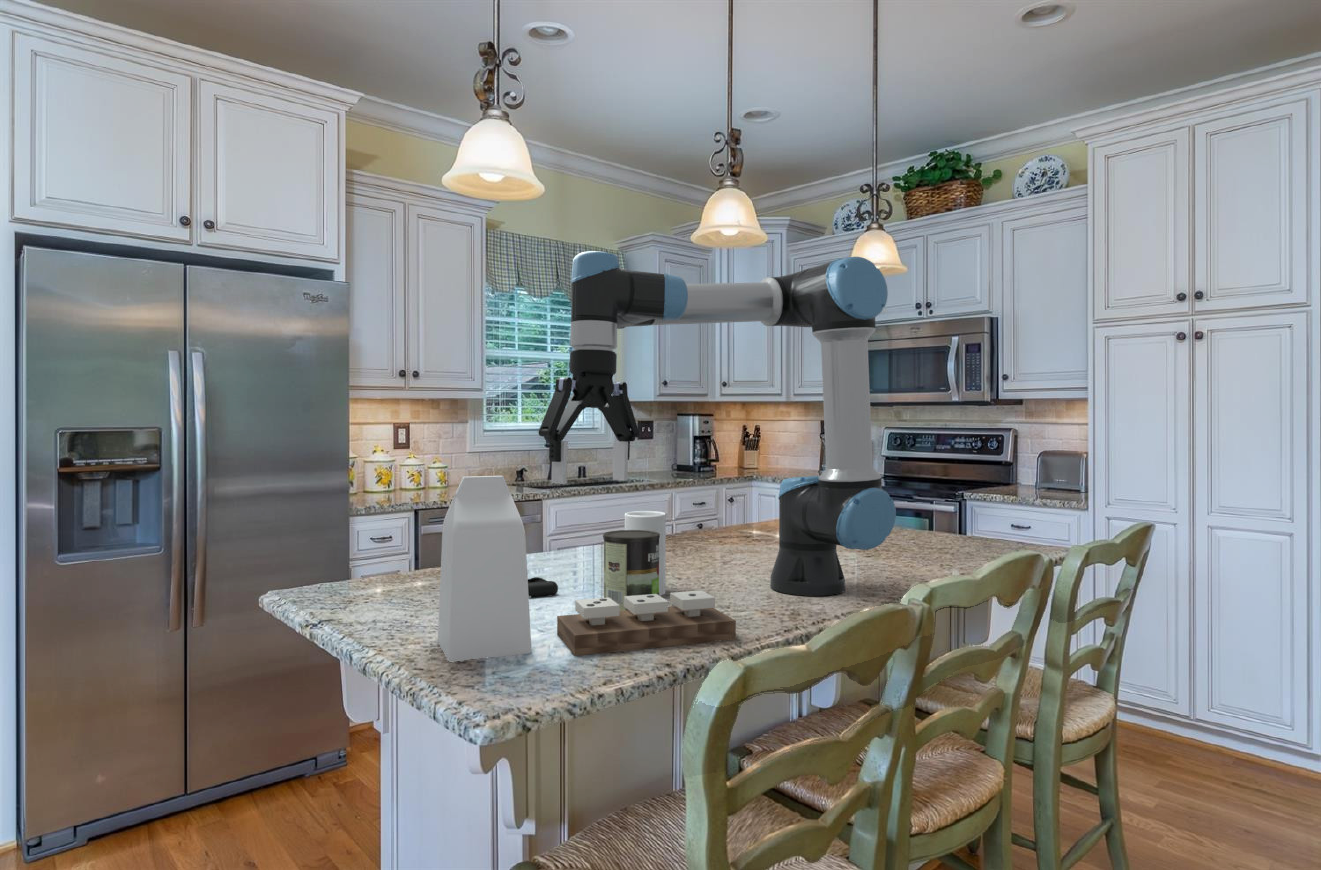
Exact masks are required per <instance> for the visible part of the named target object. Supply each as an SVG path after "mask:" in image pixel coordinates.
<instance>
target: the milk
mask: <svg viewBox="0 0 1321 870" xmlns="http://www.w3.org/2000/svg"><path fill="white" fill-rule="evenodd" d="M441 533H442V534H441V553H440V554H441V557H440V582H439V583H440V584H439V604H438V605H439V606H438V629H437V643H438V645H439V646H440V648H441V651H442V650H443V651H442V652H444V653H443V654H445V655H444V656H446V657H447V659H448V660H447V659H446V660H447V662H448V661H449V662H452V661H460V662H463V661H462V660H469V659H477V660H479V659H478V658H485V659H490V658H489V657H494V658H501V657H509V656H510V657H511V656H519V655H527V654H532V652H533V651H532V649H533V648H532V634H531V633H532V632H531V617H530V615H531V614H530V600H529V594H528V579H529V578H528V576H529V575H528V559H527V544H526V543H527V542H526V532H525V526H524V523H523V520H522V517H521V514H520V513H519V510H518V508H517V505H516V503H515V501H514V499H513V496H512V494H511V491H510V488H509V487H508V483H507V481H506V480H505V476H504V475H482V476H480V475H478V476H462V478H461V480H460V482H459V484H458V487H457V488H456V491H455V493H454V495H453V498H452V500H451V502H450V504H449V506H448V510H447V511H446V513H445V517H444V519H443V522H442V532H441ZM446 657H445V658H446ZM487 657H488V658H487ZM469 661H470V660H469ZM449 662H448V663H449ZM452 663H453V662H452Z"/></svg>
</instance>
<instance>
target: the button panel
mask: <svg viewBox="0 0 1321 870" xmlns="http://www.w3.org/2000/svg"><path fill="white" fill-rule="evenodd" d="M556 617H557V618H556V632H557V633H556V635H557V637H558V638H559V639H560V640H561V641H562V642H563V643H564V645H565V647H567V649H568V650H569V651H570V652H571V654H572V655H573V656H574V657H577V656H587V655H595V654H596V655H597V654H606V653H607V654H608V653H614V652H625V651H626V652H628V651H636V650H645V649H657V648H665V647H666V648H667V647H675V646H685V645H695V644H705V643H714V642H715V643H716V642H724V641H732V640H733V641H734V640H736V639H737V637H736V636H737V620H736V619H734V618H732V617H730V616H729V615H728V614H725V613H724V612H722V611H719V610H718V609H716V608H704V609H700V616H694V617H686V616H685V615H684V610H681V609H680V608H678V607H676V606H675V605H673V606H668V612H657V613H654V620H649V621H639V620H638V614H633V613H632V612H630V611H629V610H623V611H619V616H611V617H605V624H604V625H593V626H590V625H589V618H587V619H584V618H583V617H582V616H581V615H580V614H579V613H577V614H566V615H565V614H564V615H556Z"/></svg>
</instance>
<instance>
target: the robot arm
mask: <svg viewBox="0 0 1321 870" xmlns="http://www.w3.org/2000/svg"><path fill="white" fill-rule="evenodd" d="M619 260H620V259H619V258H618V256H617V255H616V254H614V253H609V252H606V251H600V250H599V251H597V250H594V251H593V250H590V251H583V252H580V253H578V254H576V255H575V256H574V257H573V260H572V268H571V279H570V290H571V291H570V293H571V294H570V300H571V301H570V304H571V305H570V314H571V316H570V340H569V341H570V343H569V345H570V348H572V349H573V350H571V351H570V353H569V372H570V373H571V374H572V378H571V377H570V376H569V377H568V376H567V377H558V378H557V377H556V380H555V386H554V393H553V395H552V397H551V400H550V403H549V405H548V408H547V410H546V411H545V412H546V413H545V415H544V417H543V418H542V419H543V420H542V422H541V425H540V427H539V429H538V435H539V436H540V437H543V438H544V440H545V441H546V442H547V441H548V442H549V446H548V447H549V448H548V449H549V450H548V459H549V462H551V479H550V480H551V484H560V485H566V484H568V482H567V481H568V479H567V478H568V446H569V445H568V443H569V441H563V440H564V439H565V437H566V435H567V434H568V433H569V431H570V429H572V426H573V425H574V423H575V422H576V420H577V419H578V417H579V416H580V415H581V413H582V411H583V410H586V409H587V408H591V409H597V410H598V411H600V412H601V414H602V415H603V417H604V418H605V420H606V422H607V424H608V425H609V428H610V429H611V430H612V432H613V434H614V436H615V437H616V441H615V440H613V441H612V442H613V444H612V447H613V449H612V450H613V451H612V480H613V481H621V482H622V481H625V482H626V481H628V470H629V469H628V465H629V464H628V463H629V462H628V461H629V460H630V449H631V445H630V444H631V442H635V441H636V438H639V437H640V431H639V427H638V425H637V422H636V421H637V420H636V417H635V415H634V412H633V409H632V405H631V402H630V398H629V395H628V384H627V382H625V381H621V382H620V381H618V382H614V380H613V377H614V376H615V375H616V373H617V362H618V361H617V358H618V357H617V355H618V354H617V353H616V352H615V351H614V350H615V349H617V348H618V330H621V329H625V328H627V327H643V326H644V327H645V326H646V327H648V326H666V325H692V324H694V325H695V324H699V325H700V324H717V323H718V324H719V323H721V324H722V323H723V324H724V323H749V322H750V323H751V322H760V323H761V324H762V325H763V326H765V327H777V326H778V327H795V328H811V329H812V331H811V333H812V336H813V337H814V338H815V339H817V340H818V341H819V342H820V349H821V350H820V351H821V375H822V377H821V378H822V396H823V398H822V400H823V401H822V403H823V421H824V423H823V424H824V446H825V447H824V448H825V469H824V471H823V472H822V473H821V474H820V475H815V476H798V477H788V478H784V479H783V480H782V481H781V482H780V484H779V492H778V497H777V498H778V500H779V501H778V503H779V504H778V505H779V506H778V508H779V509H778V513H779V516H778V518H779V520H778V521H779V522H778V523H779V525H778V529H779V530H778V531H779V532H778V533H779V534H778V539H779V540H778V544H779V545H778V553H777V556H776V559H775V561H774V564H773V568H772V571H771V574H770V585H769V586H770V588H771V589H772V590H774V591H776V592H780V593H782V594H783V593H784V594H787V595H788V594H790V595H796V596H810V597H812V596H813V597H819V596H821V597H824V596H832V595H838V594H842V593H843V592H845V591H846V578H845V575H844V573H843V568H842V565H841V562H840V558H839V556H838V551H837V546H841V547H843V548H846V549H849V550H862V551H866V550H867V551H868V550H872V549H875V548H877V547H879V546H880V545H881V544H883V543H884V542H885V541H886V539H887V537H889V536H890V535H891V533H892V531H893V528H894V526H895V523H896V517H897V511H896V504H895V502H894V500H893V498H891V497H890V494H889V493H888V492H887V491H885V490H884V489H883V487H882V475H881V474H880V473H879V472H878V471H877V470H876V469H875V468H874V467H873V447H872V446H873V445H872V442H873V441H872V416H871V394H870V369H869V367H870V366H869V365H870V364H869V342H868V341H869V338H871V336H872V335H873V334H874V333H875V332H876V331H877V329H876V326H877V325H876V317H878V316H879V315H880V314H881V313H882V312H883V309H884V307H886V305H887V302H888V295H889V294H888V291H889V290H888V286H887V285H888V284H887V282H886V279H885V276H884V274H883V272H882V271H881V270H880V268H877V266H876V264H874V263H873V262H872V261H871V260H869V259H867V258H866V257H865V258H864V257H861V256H849V257H843V258H837V259H835V260H833V261H832V260H831V261H830V262H827V263H823V264H820V265H817V266H814V267H809V268H806V269H803V270H800V271H797V272H794V273H791V274H787V275H781V276H773V277H772V276H768V277H764V278H763V279H762V280H760V282H729V283H728V282H726V283H725V282H723V283H721V282H720V283H717V282H716V283H713V282H711V283H686V281H685V280H684V279H683V278H682V277H680V276H678V275H677V276H676V275H672V274H667V273H665V272H664V273H659V272H647V271H638V270H627V269H624V268H620V263H619ZM571 393H573V394H571Z"/></svg>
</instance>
